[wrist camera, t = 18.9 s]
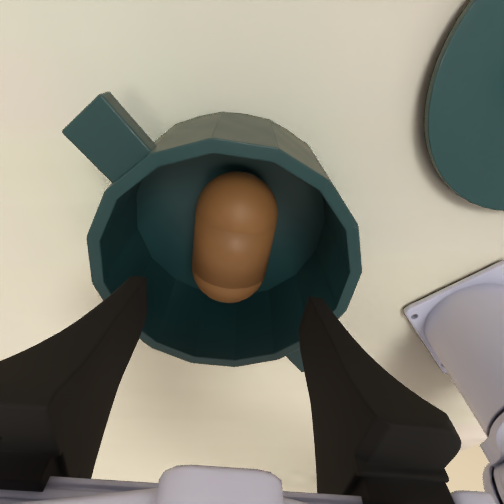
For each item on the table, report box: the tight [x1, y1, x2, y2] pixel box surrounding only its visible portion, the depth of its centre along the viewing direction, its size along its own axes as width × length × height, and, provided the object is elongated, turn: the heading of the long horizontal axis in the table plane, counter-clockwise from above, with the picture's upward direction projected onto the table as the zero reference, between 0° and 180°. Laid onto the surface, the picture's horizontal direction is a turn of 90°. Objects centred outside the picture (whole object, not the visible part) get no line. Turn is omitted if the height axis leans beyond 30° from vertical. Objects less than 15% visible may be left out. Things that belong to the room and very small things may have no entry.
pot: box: [62, 92, 362, 372], centre depth 19 cm, size 13×19×6 cm
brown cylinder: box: [192, 171, 278, 303], centre depth 20 cm, size 8×5×5 cm, turn 171°
